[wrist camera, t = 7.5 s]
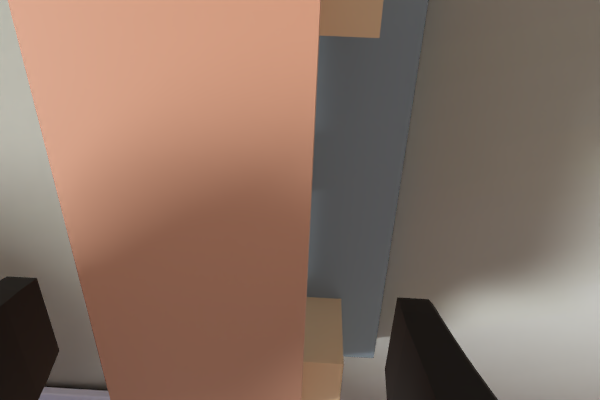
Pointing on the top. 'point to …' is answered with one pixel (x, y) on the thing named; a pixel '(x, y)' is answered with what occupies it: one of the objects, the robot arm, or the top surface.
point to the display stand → (356, 176)
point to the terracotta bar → (183, 183)
